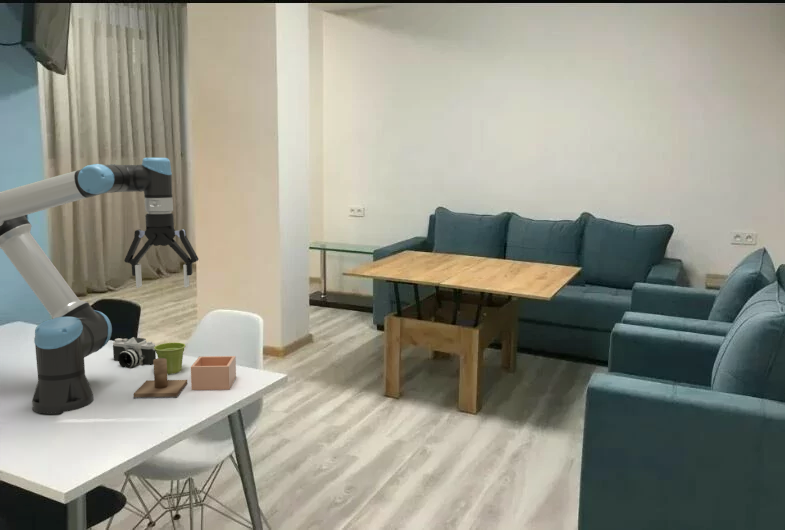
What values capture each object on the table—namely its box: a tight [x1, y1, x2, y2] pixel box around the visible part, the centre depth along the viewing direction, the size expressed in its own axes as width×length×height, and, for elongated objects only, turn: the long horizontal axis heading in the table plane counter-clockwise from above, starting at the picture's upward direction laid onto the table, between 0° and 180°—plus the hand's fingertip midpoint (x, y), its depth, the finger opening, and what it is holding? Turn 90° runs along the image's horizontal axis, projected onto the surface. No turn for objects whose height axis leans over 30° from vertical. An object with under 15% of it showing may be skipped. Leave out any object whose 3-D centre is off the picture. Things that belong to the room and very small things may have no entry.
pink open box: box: [190, 355, 237, 391], centre depth 202 cm, size 11×11×7 cm
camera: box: [112, 336, 157, 369], centre depth 220 cm, size 16×9×10 cm, turn 72°
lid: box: [133, 357, 188, 398], centre depth 196 cm, size 12×12×9 cm
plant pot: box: [154, 342, 186, 375], centre depth 213 cm, size 9×9×9 cm
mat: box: [133, 383, 188, 399], centre depth 196 cm, size 12×12×1 cm
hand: (163, 286), depth 194 cm, fingers open, 13 cm apart
